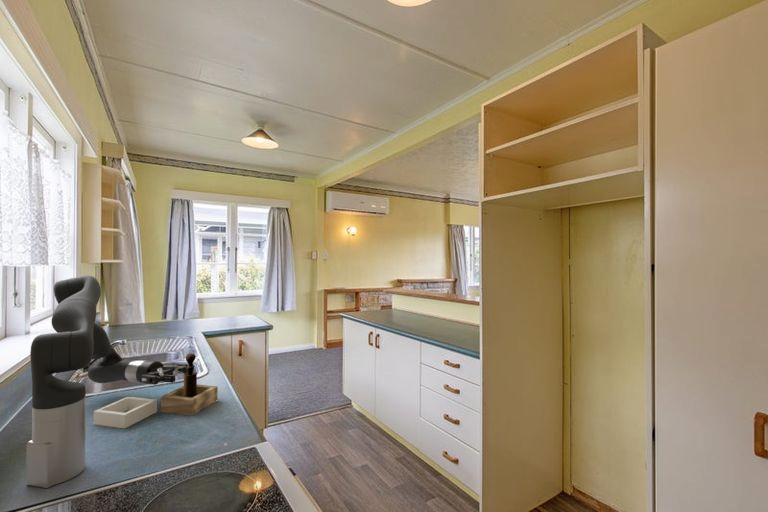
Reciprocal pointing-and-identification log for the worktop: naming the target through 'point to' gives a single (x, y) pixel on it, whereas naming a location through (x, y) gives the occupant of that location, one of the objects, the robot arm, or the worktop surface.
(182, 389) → the socket
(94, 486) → the worktop surface
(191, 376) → the dark pepper mill
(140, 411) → the tray
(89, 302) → the robot arm
